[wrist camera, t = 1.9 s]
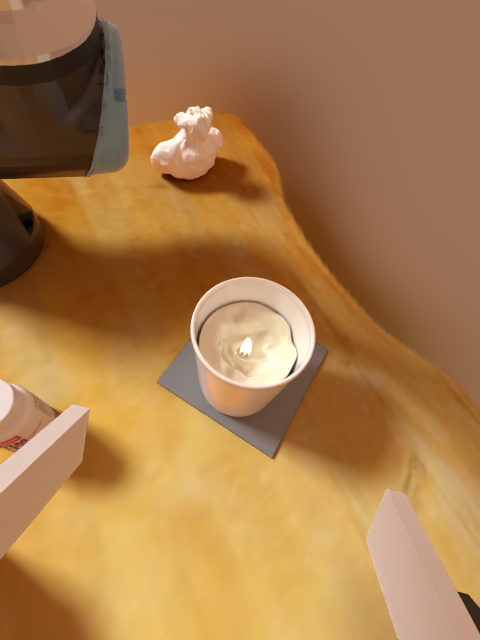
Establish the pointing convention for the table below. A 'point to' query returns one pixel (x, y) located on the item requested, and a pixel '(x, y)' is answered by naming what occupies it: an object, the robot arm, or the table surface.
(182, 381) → the gray tile
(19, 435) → the pill bottle
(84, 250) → the table surface
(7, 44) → the robot arm
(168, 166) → the bust
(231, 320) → the candle holder
